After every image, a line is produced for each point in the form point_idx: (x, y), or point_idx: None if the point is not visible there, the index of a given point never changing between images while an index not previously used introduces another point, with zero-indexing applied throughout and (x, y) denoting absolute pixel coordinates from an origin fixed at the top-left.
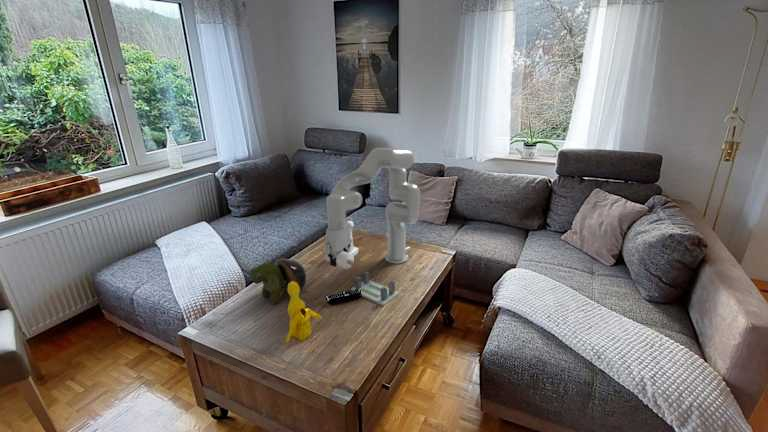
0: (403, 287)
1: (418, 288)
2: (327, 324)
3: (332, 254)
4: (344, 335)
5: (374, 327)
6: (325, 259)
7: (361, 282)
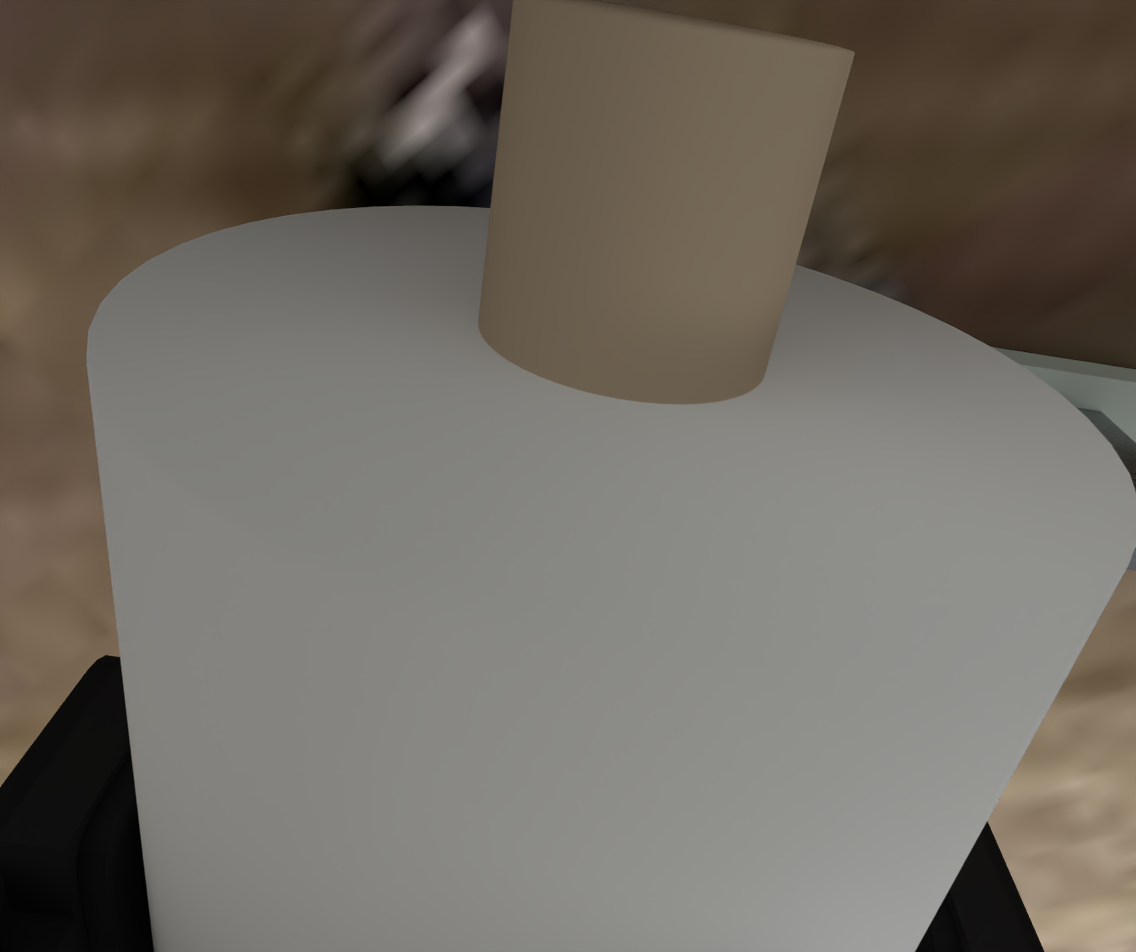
0: (1103, 801)
1: (1122, 910)
2: (15, 462)
3: (169, 947)
4: (36, 687)
5: None
6: (251, 239)
7: (1038, 371)
